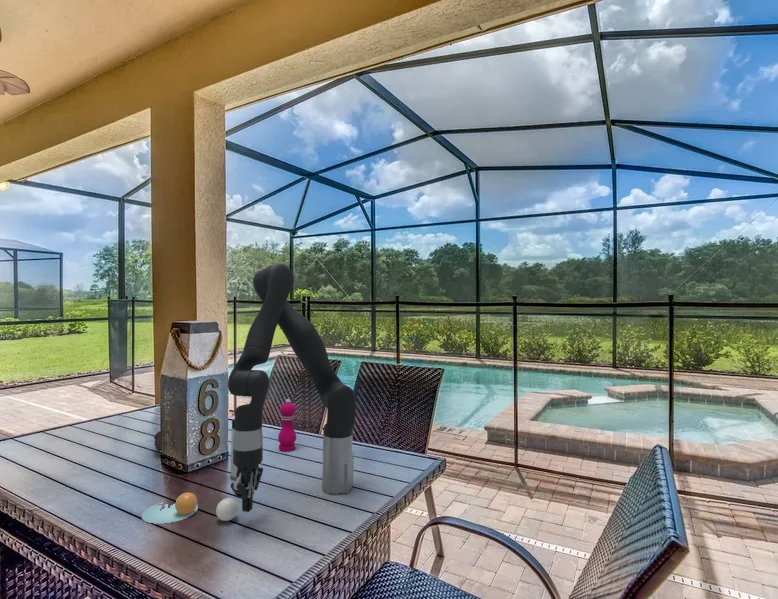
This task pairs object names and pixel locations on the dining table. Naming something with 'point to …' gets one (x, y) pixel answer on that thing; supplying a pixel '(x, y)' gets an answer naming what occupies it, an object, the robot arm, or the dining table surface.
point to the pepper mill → (287, 427)
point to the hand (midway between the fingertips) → (247, 510)
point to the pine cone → (158, 441)
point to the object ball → (186, 503)
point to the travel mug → (233, 467)
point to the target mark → (164, 514)
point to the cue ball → (227, 509)
